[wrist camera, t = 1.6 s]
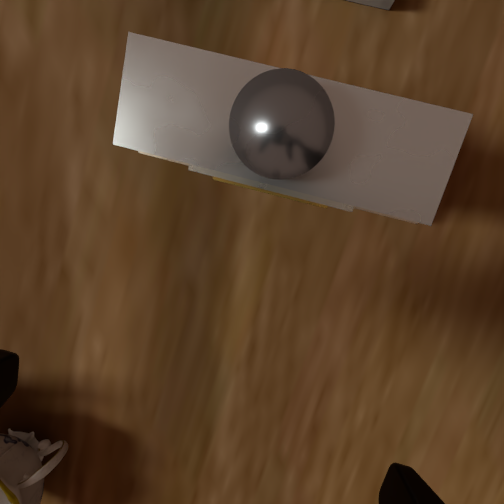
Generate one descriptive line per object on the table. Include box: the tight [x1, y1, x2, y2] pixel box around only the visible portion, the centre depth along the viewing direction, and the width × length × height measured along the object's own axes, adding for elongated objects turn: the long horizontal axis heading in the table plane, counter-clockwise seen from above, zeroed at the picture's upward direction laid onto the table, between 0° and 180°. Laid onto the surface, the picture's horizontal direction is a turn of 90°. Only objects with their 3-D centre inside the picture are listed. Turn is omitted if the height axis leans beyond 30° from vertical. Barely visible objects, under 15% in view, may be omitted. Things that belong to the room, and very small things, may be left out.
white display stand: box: [113, 32, 473, 226], centre depth 14 cm, size 14×4×9 cm, turn 76°
